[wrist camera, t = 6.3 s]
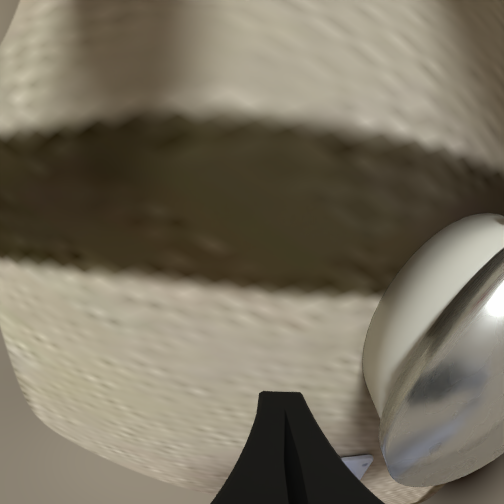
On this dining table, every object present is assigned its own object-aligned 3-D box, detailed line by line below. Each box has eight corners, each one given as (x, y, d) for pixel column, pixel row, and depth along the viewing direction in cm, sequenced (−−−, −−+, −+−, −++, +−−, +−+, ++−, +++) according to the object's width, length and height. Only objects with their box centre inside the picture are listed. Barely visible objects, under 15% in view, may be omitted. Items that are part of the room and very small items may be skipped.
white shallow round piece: (483, 407, 17) (507, 442, 13) (332, 434, 17) (344, 489, 12) (557, 211, 12) (602, 229, 8) (398, 167, 12) (457, 176, 7)
